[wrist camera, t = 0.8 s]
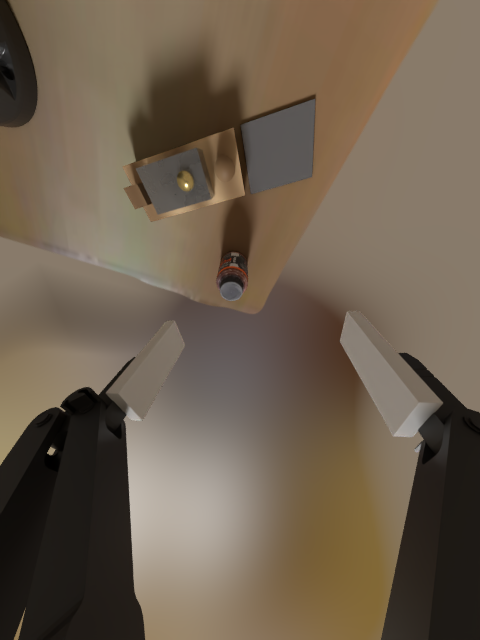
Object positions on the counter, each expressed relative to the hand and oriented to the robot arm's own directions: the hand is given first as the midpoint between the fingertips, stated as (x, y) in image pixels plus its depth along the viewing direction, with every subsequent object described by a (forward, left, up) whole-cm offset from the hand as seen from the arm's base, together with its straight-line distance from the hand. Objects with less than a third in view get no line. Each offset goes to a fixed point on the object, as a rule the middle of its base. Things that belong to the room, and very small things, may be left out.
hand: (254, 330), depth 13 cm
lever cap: (-10, -8, -22) cm, 26 cm away
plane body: (-10, -7, -27) cm, 29 cm away
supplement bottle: (+6, -4, -27) cm, 28 cm away
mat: (-10, +7, -27) cm, 29 cm away
